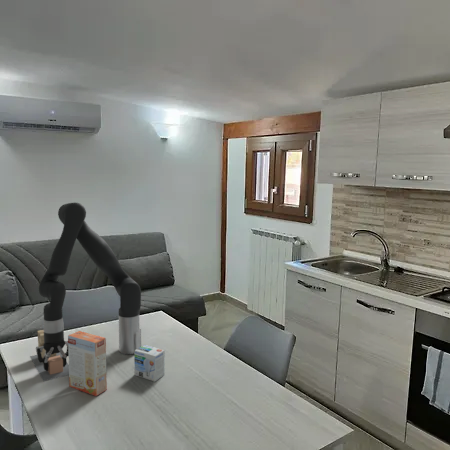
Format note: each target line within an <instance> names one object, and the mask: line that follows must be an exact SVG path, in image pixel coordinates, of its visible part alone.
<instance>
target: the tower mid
mask: <svg viewBox="0 0 450 450" xmlns="http://www.w3.org/2000/svg"><path fill="white" fill-rule="evenodd" d="M43 344H44V329H40V330H37V346H38V345H39V346H40V347H41V346H43Z"/></svg>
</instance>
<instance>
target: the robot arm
mask: <svg viewBox="0 0 450 450" xmlns="http://www.w3.org/2000/svg"><path fill="white" fill-rule="evenodd" d="M57 211H58V212H57V216H58V219H59V221H60V223H62V224H63V228H62V232H61V235H60V237H59V239H58V241H57V242H56V245H55V247H54V249H53V252H52V253H51V257H50V261H49V265H48V267H47V270H46V271H45V273H44V275H43V277H42V279H41V280H40V283H39V284H38V285H39V286H38V293H39V295H40V296H41V297H43V298H46V299H50V302H49V303H46V304H45V305H44V306H43V326H42V327H43V330H44V344H43V346H41V347H38V346H36V347H35V351H36V355H37V357H38V360H39V362H40V363H41V362H43V366H44V369H45V370H46V371H48V362H47V361H48V359H49V357H50V355H51V354H54V353H59V352H60V353H61V355H62V359H63V367H65V365H66V364H67V363H68V362H67V359H68V357H69V353H68V340H65V332H64V330H65V329H64V327H65V326H64V325H65V324H64V318H63V307H64V302H65V298H66V293H67V289H66V286H65V284H64V283H63V282H61V281H58V279H59V277H62V276H65V275H66V274H67V271H68V267H69V264H70V260H71V257H72V253H73V249H74V246H75V243H76V240H77V241H78V242H79V244H80V245H81V247H82V248H83V250H84V251H85V252H86V253H87V255H88V256H89V258H90V259H91V261H92V262H93V263H94V264H95V265H96V266H97V267H98V269H99V270H100V271H101V272H102V273H103V274H104V275H106V276H107V278H108V279H109V281H110V282H111V284H112V286H113V287H114V288H115V291H116V292H117V295H119V296H120V297H119V299H120V300H119V301H120V302H119V303H120V306H119V308H118V352H119V353H120V354H123V355H134V351H135V350H136V349H138V348H140V347H142V328H141V327H140V310H141V307H142V304H141V303H142V289H141V286H140V284H138V282H136V281H135V280H134V279H133V278H132V277H131V276H130V275H129V274H128V272H126V271H125V269H124V268H123V267H122V265H121V263H120V261H119V259H118V258H117V255H116V254H115V252H114V251H113V249H112V248H111V247H110V245H109V244H108V243H107V241H106V239H104V238H103V237H102V236H101V235H99V234H98V233H97V232H95V231H94V230H93V229H92V228H91V227H90V226H89V225H88V224H87V222H86V221H85V220H86V217H87V211H86V207H85V206H84V205H83V204H81V203H79V202H68V203H65V204H62V205H61V206H60V207H59V209H58V210H57ZM65 346H66V352H64V350H63V348H64V347H65ZM43 349H45V350H46V352H45V355H44V358H42V356H41V352H42V350H43ZM66 362H67V363H66Z"/></svg>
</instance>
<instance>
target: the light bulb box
mask: <svg viewBox="0 0 450 450" xmlns="http://www.w3.org/2000/svg"><path fill="white" fill-rule="evenodd" d="M165 351H166V350H165V349H161V348H158V347H154V346H151V345H146V344H144V345H141V347H140V348H138V349H136V350H135V351H134V354H133V355H134V359H133V360H134V362H133V364H134V367H133V369H134V374H133V375H134V376H136V377H139V378H143V379H146V380H149V381H152V382H156V381H158V380H159V379H160V378H162V377H164V376H165V373H166V372H165V364H166V363H165V357H166V356H165V354H166V353H165Z"/></svg>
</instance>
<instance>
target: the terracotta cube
mask: <svg viewBox="0 0 450 450" xmlns="http://www.w3.org/2000/svg"><path fill="white" fill-rule="evenodd" d="M47 362H48V372H49V373H50V375H51V374H55V373H59V372H63V359H62V358H61V357H60V355H59V356H54V357H50V358H49V359H48V361H47Z"/></svg>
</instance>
